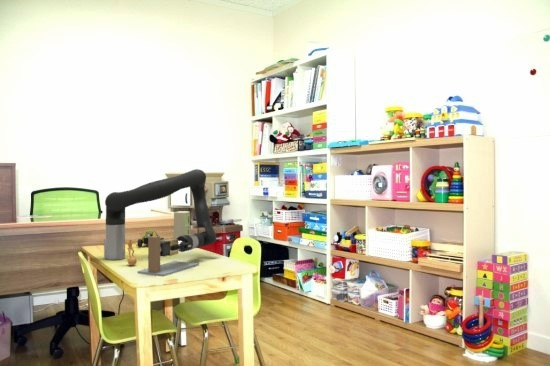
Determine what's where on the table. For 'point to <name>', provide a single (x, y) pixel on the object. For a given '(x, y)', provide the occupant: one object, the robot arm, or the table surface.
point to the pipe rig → (154, 261)
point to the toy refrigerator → (181, 223)
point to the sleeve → (172, 242)
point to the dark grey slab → (165, 248)
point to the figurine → (132, 260)
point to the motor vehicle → (146, 238)
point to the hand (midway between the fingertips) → (165, 247)
